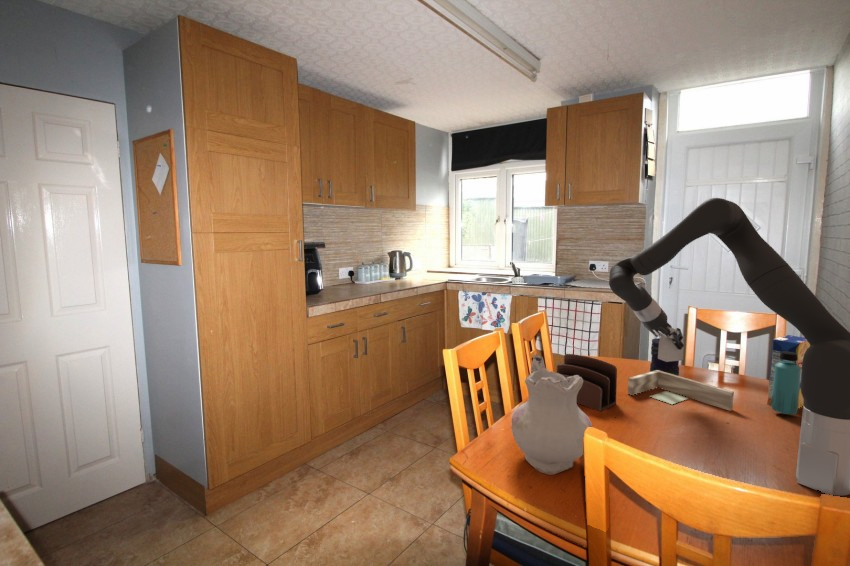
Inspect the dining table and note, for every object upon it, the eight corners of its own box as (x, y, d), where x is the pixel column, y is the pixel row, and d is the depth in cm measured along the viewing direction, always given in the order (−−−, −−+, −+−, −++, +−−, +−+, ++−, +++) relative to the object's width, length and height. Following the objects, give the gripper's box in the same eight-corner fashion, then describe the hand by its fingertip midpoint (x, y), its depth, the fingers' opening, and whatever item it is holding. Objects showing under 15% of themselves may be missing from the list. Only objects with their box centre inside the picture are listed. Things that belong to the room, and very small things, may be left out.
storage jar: (643, 376, 170) (645, 339, 168) (663, 373, 173) (665, 337, 171) (664, 384, 161) (666, 345, 159) (684, 382, 164) (687, 343, 162)
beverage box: (766, 404, 143) (773, 339, 140) (782, 397, 148) (788, 334, 145) (792, 411, 137) (799, 343, 134) (807, 404, 142) (814, 339, 139)
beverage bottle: (802, 420, 130) (809, 355, 128) (777, 418, 132) (783, 354, 129) (789, 411, 137) (795, 349, 134) (765, 409, 138) (770, 348, 136)
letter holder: (564, 388, 159) (565, 350, 157) (616, 404, 143) (618, 363, 142) (547, 394, 152) (549, 355, 151) (600, 412, 137) (602, 369, 135)
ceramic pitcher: (494, 448, 117) (489, 360, 113) (554, 431, 123) (551, 347, 120) (542, 493, 97) (538, 388, 93) (611, 470, 103) (610, 370, 99)
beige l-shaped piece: (703, 421, 130) (705, 402, 129) (627, 394, 152) (628, 377, 151) (732, 409, 138) (733, 391, 138) (656, 385, 160) (657, 369, 159)
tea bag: (682, 360, 145) (685, 331, 144) (666, 361, 144) (668, 332, 142) (673, 357, 149) (676, 328, 148) (657, 358, 147) (659, 329, 146)
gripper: (673, 307, 135) (701, 343, 140) (640, 300, 149) (666, 332, 153) (658, 325, 134) (687, 360, 139) (626, 316, 148) (652, 348, 153)
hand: (675, 345), depth 146 cm, fingers closed on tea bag, 3 cm apart
